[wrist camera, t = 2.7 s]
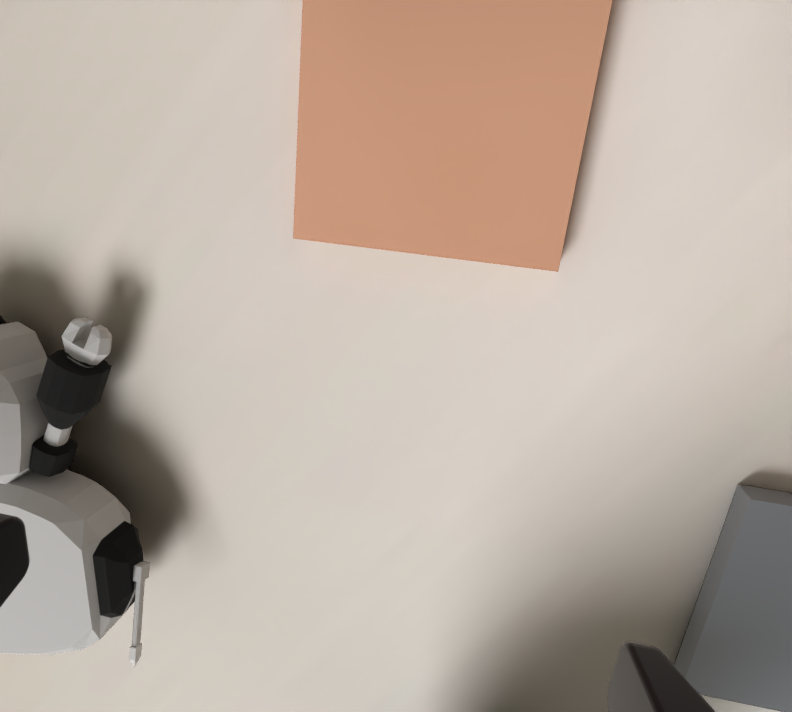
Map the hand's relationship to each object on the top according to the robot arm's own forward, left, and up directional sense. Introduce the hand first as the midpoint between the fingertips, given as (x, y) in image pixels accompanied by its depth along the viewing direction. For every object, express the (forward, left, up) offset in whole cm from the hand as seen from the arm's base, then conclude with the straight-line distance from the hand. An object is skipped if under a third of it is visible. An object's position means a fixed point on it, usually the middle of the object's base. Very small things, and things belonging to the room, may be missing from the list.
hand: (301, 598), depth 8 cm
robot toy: (-8, +16, -13) cm, 22 cm away
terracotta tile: (+8, 0, -13) cm, 15 cm away
